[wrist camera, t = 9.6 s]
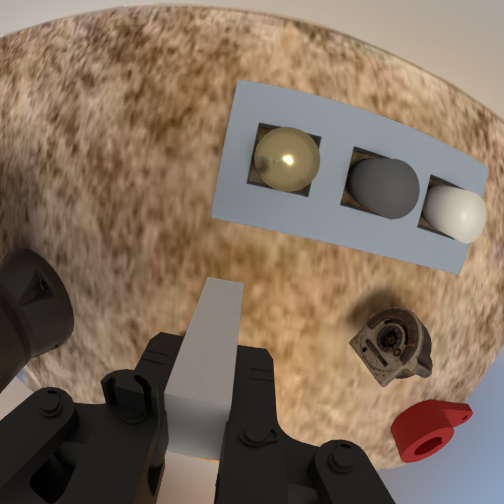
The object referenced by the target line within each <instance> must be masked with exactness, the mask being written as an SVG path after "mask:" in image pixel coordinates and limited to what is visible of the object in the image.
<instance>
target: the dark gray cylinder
mask: <svg viewBox="0 0 504 504" xmlns="http://www.w3.org/2000/svg"><path fill="white" fill-rule="evenodd" d="M348 185H349V190H350V193H351V195H352V197H353V198H354V199H355V201H357V202H358V203H359V204H361V205H362V206H364V207H366V208H368V209H370V210H372V211H374V212H376V213H377V214H379V215H381V216H383V217H385V218H388V219H399V218H402V217H404V216H406V215H408V214H409V213H410V212H411V211H412V210H413V209H414V207H415V206H416V204H417V202H418V198H419V194H420V185H419V180H418V177H417V175H416V173H415V171H414V170H413V168H412V167H411V166H410V165H409V164H407V163H406V162H404V161H402V160H399V159H385V158H367V159H363V160H361V161H359V162H358V163H357V164H355V166H354V167H353V168H352V170H351V172H350V175H349V180H348Z"/></svg>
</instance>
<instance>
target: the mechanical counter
mask: <svg viewBox="0 0 504 504" xmlns="http://www.w3.org/2000/svg"><path fill="white" fill-rule="evenodd" d="M366 320H367V324H366V325H365V326H364V327H363V328H362V330H361V331H360V332H359V333H358V334H357V335H356V336H355V337H354V338H353V339H352V340H351V341H350V342H349V344H350V345H351V346H352V348H353V349H354V350H355V352H356V353H357V354H358V356H359V357H360V358H361V360H362V361H363V362H364V364H365V365H366V366H367V368H368V369H369V371H370V372H371V374H372V375H373V376H374V378H375V379H376V380H377V381H378V383H379V384H380V385H381V386H382V387H385V386H386V385H387V384H388V383H390V382H391V381H392V380H393V379H394V378H397V379H402V378H408V377H411V376H413V375H415V374H416V375H419V376H421V377H422V378H427V377H429V376H430V375H431V373H432V367H433V365H432V360H431V358H430V353H431V344H432V343H431V338H430V335H429V333H428V331H427V329H426V328H425V326H424V325H423V324H422V323H421V322H420V320H419V319H418V317H417V316H416V315H415V314H414V313H413V312H412V311H410V310H408V309H405V308H402V307H390V308H387V309H384V310H382V311H380V312H378V313H374V312H372V313H371V314H369V315H368V317H367V318H366Z"/></svg>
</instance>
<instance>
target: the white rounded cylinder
mask: <svg viewBox="0 0 504 504" xmlns="http://www.w3.org/2000/svg"><path fill="white" fill-rule="evenodd" d="M423 215H424V218H425V220H426V222H427V223H428V224H429V225H430V226H431V227H433V228H435V229H437V230H439V231H441V232H443V233H445V234H447V235H449V236H451V237H452V238H454V239H456V240H458V241H460V242H462V243H470V242H473V241H474V240H476V239H477V238H478V237H479V235H480V234H481V232H482V231H483V228H484V225H485V221H486V208H485V204H484V202H483V200H482V198H481V197H480V196H479V195H478V194H477V193H475V192H471V191H467V190H463V189H459V188H455V187H451V186H446V185H435V186H433V187H432V188H431V189H430V190H429V191H428V192H427V194H426V196H425V200H424V204H423Z"/></svg>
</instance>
